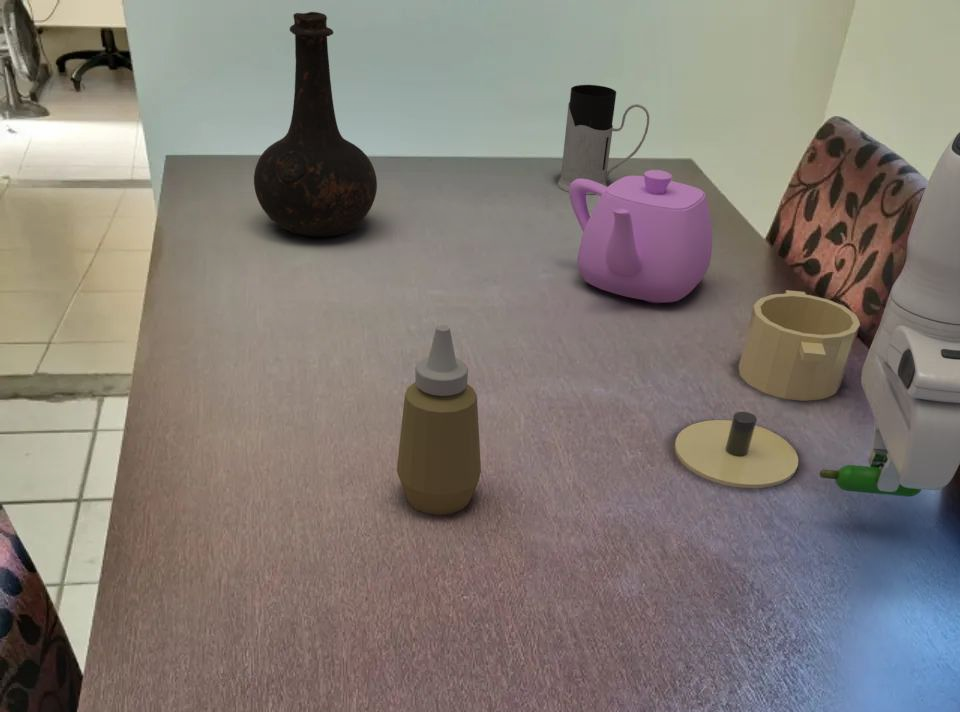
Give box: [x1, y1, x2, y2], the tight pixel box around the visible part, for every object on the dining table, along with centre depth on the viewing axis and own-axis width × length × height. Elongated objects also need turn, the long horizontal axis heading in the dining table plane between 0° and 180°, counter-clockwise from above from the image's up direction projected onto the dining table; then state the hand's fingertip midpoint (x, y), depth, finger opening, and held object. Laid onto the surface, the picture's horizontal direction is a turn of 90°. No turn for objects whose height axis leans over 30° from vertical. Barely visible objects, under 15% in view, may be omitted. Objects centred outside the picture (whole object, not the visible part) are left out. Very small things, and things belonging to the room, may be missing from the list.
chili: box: [818, 464, 923, 497], centre depth 91 cm, size 10×2×2 cm, turn 84°
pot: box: [738, 289, 861, 402], centre depth 116 cm, size 12×17×8 cm
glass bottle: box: [253, 11, 378, 238], centre depth 139 cm, size 18×18×28 cm
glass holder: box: [557, 84, 650, 196], centre depth 164 cm, size 9×14×15 cm, turn 75°
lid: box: [674, 411, 799, 489], centre depth 102 cm, size 13×13×5 cm
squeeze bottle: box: [396, 324, 482, 516], centre depth 89 cm, size 8×8×18 cm
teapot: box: [568, 169, 713, 304], centre depth 132 cm, size 23×21×15 cm
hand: (881, 477), depth 91 cm, fingers closed on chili, 2 cm apart
